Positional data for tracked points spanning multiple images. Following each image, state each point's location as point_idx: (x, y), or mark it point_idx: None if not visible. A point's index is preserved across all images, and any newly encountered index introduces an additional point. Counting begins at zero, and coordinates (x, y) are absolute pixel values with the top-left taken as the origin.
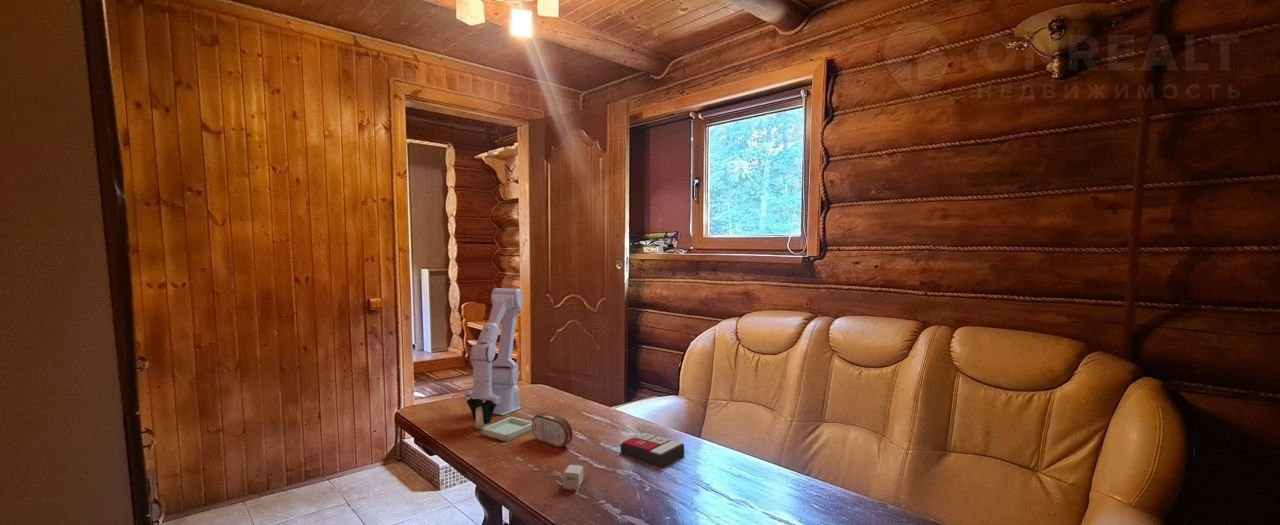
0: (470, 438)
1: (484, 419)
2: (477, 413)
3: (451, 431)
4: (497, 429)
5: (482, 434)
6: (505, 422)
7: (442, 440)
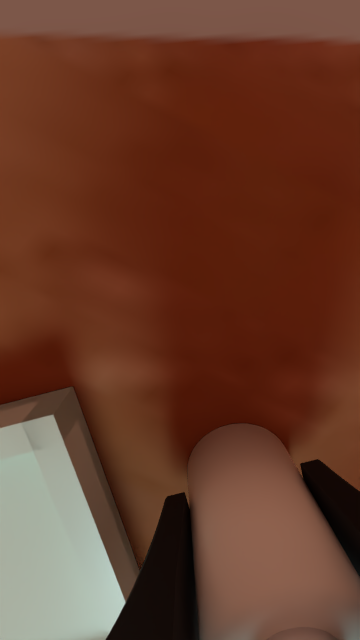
0: (47, 281)
1: (163, 529)
2: (260, 544)
3: (335, 233)
4: (52, 521)
5: (51, 393)
6: None
7: (174, 47)
